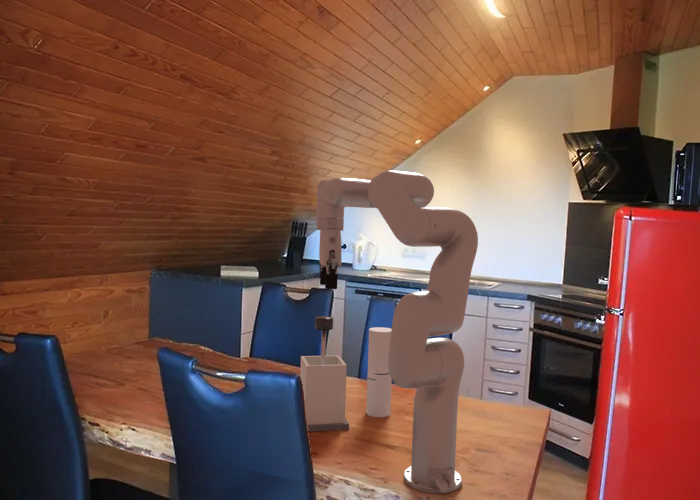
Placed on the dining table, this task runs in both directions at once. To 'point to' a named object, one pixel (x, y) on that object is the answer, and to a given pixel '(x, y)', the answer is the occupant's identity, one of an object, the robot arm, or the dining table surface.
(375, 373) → the cylindrical container
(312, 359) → the press carafe
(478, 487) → the dining table surface
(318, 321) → the plunger
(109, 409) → the dining table surface
